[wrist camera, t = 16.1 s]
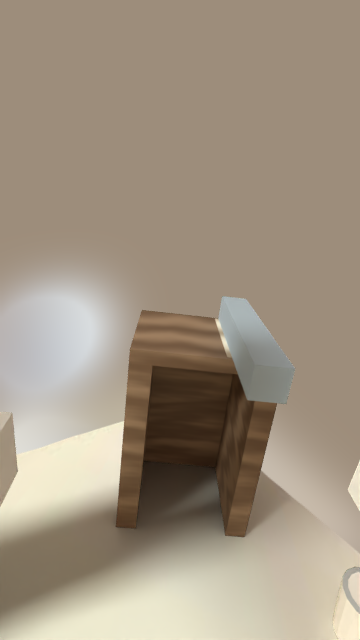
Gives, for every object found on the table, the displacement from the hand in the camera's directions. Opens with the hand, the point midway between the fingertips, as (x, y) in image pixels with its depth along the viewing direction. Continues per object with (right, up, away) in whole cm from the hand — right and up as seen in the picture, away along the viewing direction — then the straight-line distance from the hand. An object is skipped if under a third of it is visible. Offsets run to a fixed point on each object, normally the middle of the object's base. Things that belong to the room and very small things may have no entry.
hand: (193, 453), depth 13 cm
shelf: (0, -25, +48) cm, 54 cm away
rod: (+8, +1, +34) cm, 35 cm away
